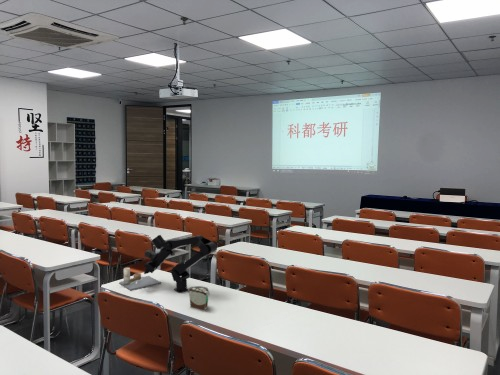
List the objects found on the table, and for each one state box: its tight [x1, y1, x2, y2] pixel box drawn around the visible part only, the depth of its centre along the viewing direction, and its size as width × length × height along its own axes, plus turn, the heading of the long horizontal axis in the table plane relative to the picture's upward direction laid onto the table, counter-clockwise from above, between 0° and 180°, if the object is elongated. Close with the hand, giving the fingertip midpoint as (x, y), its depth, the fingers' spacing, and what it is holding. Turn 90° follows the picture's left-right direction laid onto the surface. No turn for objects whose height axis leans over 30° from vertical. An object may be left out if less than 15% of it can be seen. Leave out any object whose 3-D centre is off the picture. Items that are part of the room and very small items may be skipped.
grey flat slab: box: [118, 275, 162, 292], centre depth 231 cm, size 16×19×1 cm
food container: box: [187, 285, 211, 312], centre depth 196 cm, size 12×6×10 cm, turn 58°
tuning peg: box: [123, 267, 142, 284], centre depth 231 cm, size 13×4×9 cm, turn 156°
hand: (144, 273), depth 226 cm, fingers closed
